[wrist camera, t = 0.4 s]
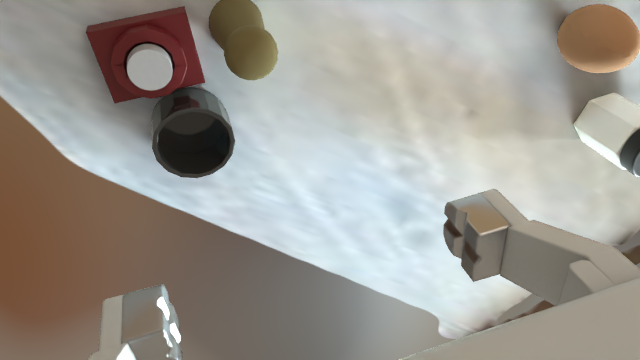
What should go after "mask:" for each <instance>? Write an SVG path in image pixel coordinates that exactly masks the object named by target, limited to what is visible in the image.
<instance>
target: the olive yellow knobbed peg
mask: <svg viewBox="0 0 640 360" xmlns="http://www.w3.org/2000/svg"><path fill="white" fill-rule="evenodd" d="M209 29H210V32H211V35H212V36H213V38H214V39H215V41H216V42H217V43H218V44H219V45H220V47H221V48H222V49H223V50H224V57H225V60H226V63H227V66H228V67H229V68H230V70H231V71H232V72H233V73H234V74H236V75H237V76H238V77H240V78H243V79H246V80H257V79H261V78H263V77H265V76H267V75H268V74H269V73H270V72H271V71H272V70H273V69H274V67H275V65H276V63H277V58H278V49H277V44H276V42H275V40H274V39H273V37H272V36H271V34H270V33H268V32H267V31H266V30H265V28H264V24H263V20H262V15H261V12H260V11H259V9H258V7H257V6H256V5H255V4H254V3H253V2H252V1H251V0H221V1H220V2H218V3H217V4H216V5H215V7H214V8H213V9H212V11H211V14H210V17H209Z"/></svg>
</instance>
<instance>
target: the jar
mask: <svg viewBox="0 0 640 360" xmlns="http://www.w3.org/2000/svg"><path fill="white" fill-rule="evenodd" d="M574 127H575V129H576V131H577V133H578V135H579V137H580V139H581V141H582V142H584V143H585V144H587V145H588V146H589V147H591V148H592V149H594V150H595V151H597V152H598V153H599V154H601V155H602V156H604V157H605V158H607V159H608V160H609V161H611V162H612V163H614V164H615V165H617V166H618V167H619V168H621V169H622V170H628V171H629V172H631V173H632V174H634V175H635V176H637V177H640V106H638V105H637V104H635V103H633V102H631V101H629V100H627V99H626V98H624V97H622V96H620V95H618V94H617V93H610V94H607V95H604V96H601V97H598V98H594V99H591V100H589V102H588V103H587V105H586V106H585V108H584V109H583V111H582V112H581V114H580V115H579V117H578V118H577V120H576V122H575V123H574Z"/></svg>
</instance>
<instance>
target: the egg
mask: <svg viewBox="0 0 640 360" xmlns="http://www.w3.org/2000/svg"><path fill="white" fill-rule="evenodd" d="M557 43H558V47H559V50H560V53H561V54H562V56H563V58H564V59H565V60H566V61H567V62H568V63H570V64H571V65H573V66H574V67H576V68H578V69H581V70H583V71H587V72H592V73H607V72H612V71H617V70H620V69H622V68H624V67H626V66H627V65H629V64H630V63H631V62H632V61H633V60H634V59H635V58H636V56H637V55H638V53H639V50H640V33H639V30H638V28H637V26H636V25H635V23H634V22H633V20H632V19H631V18H630V17H629V16H628V15H627V14H626V13H624V12H623V11H621V10H619V9H617V8H614V7H612V6H608V5H601V4H594V5H588V6H585V7H582V8H579V9H577V10H575V11H574V12H573V13H571V14H570V15H569V16H567V17H566V18H565V20H564V21H563V23H562V24H561V26H560V28H559V31H558V38H557Z"/></svg>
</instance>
